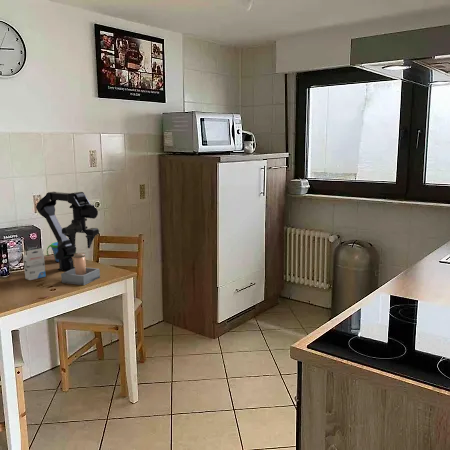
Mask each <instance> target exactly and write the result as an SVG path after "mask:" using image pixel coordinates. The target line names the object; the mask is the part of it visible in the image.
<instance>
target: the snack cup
mask: <svg viewBox="0 0 450 450" xmlns="http://www.w3.org/2000/svg"><path fill="white" fill-rule="evenodd" d="M57 246H58V242H57V241H55V242H51V244H49V245H48V246H47V248H46V255H47V257H49V251H48V250H49V248H51V250H52V253H53V257H54V260H55V262H57V263H59V259H56V257H55V255H56V253H57V252H58V248H57Z"/></svg>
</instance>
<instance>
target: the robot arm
mask: <svg viewBox="0 0 450 450" xmlns="http://www.w3.org/2000/svg"><path fill="white" fill-rule="evenodd" d="M57 201H61V202H67V203H68V204H70V206H68V207H69V209H72V218H73V219H71V221H70V222H71V223H70V224H68V226H65V227H62V225H61V224H60V222H59V220H58V218H57V216H56V207H55V206H56V204H57ZM35 208H36V211H37V212H38V213H39V215H40V216H42V218H44V219H45V220H46V222H47V224H48V225H49V228H50V230H51V232H52V234H53V236H54V237H55V239H56V242H58V246H57V248H58V252H57V253H56V255H55V257H56V259H59V262H58V265H59V266H58V267H59V268H57V271H62V272H63V271H64V272H66V271H69V270H71V269H74V268H75V264H74V260H73V259H74V254H75V253H77V246H76V235H77V233H78V234H80V233H81V234H85V238H86V242H87V243H86V244H87V248H88V249H90V248H91V247H92V244H93V242H94V239H95V237H96V236H97V235H99V234H100V230H99V228H97V227H90V228H88V225H87V224H86V222H87V221H88V219H91V220H92V219H96V218H97V217H98V215H99V211H98V209H97V207H95V204H91V202H90V201H89V199H88V197H87V196H86V194H85V192H83V191H78V192H77V191H76V192H71V193H70V192H59V191H48V192H47V193H46V194H45V195H44V196H43V197H41V199H39V201H37V203H36V207H35ZM86 225H87V226H86ZM55 257H54V258H55Z"/></svg>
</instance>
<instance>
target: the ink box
mask: <svg viewBox="0 0 450 450" xmlns="http://www.w3.org/2000/svg"><path fill="white" fill-rule="evenodd" d="M44 255H45V254H44V249H43V247H41V248H36V249H31V250H26V254H25V255H22V260H23V269H24V278H25V280H28V281H32V280H37V279H41V278H45V277H46V266H45V256H44Z"/></svg>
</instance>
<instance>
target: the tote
mask: <svg viewBox="0 0 450 450" xmlns="http://www.w3.org/2000/svg"><path fill="white" fill-rule="evenodd" d="M60 277H61V278H60V279H61V283H62V284H69V285H76V286H77V285H79V286H80V285H81V286H85V285H87V284H89V283H92V282H95V281H96V280H98V279H100V278H101V271H100V268H95V267H86V274H85V275H75V268H74V269H71V270H69V271H64V272H63V273H60Z"/></svg>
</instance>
